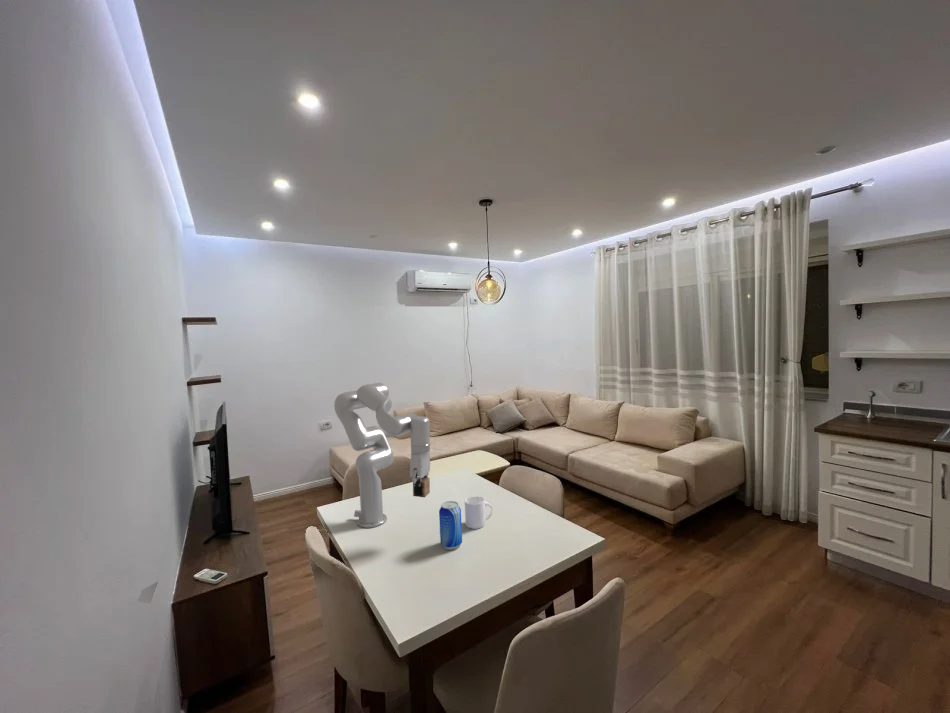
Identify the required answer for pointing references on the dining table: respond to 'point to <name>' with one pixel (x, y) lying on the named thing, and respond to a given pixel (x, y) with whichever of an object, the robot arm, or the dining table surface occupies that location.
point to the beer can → (450, 525)
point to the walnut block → (424, 487)
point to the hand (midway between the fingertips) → (421, 492)
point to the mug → (476, 512)
